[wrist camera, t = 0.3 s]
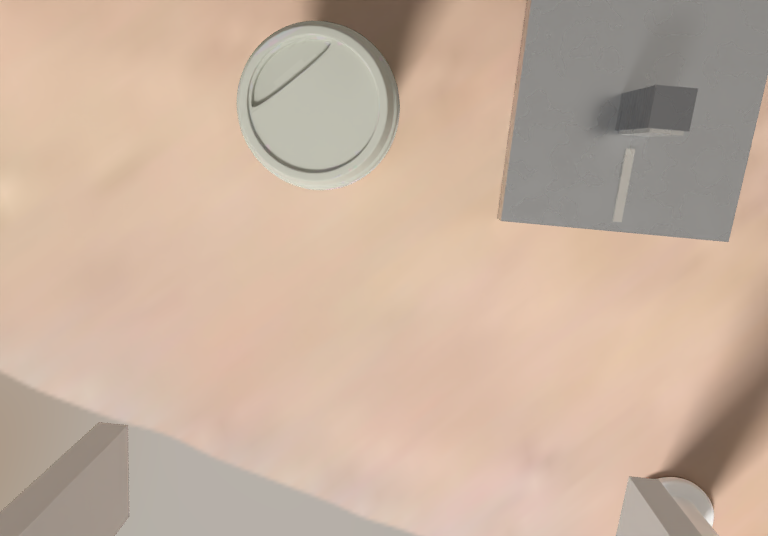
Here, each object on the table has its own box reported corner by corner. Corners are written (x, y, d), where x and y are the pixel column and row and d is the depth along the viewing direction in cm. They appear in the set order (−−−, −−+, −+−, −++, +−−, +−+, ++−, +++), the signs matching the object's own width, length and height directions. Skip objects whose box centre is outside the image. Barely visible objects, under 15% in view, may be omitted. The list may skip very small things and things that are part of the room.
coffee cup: (396, 50, 37) (393, 4, 25) (404, 175, 39) (404, 186, 27) (274, 60, 37) (215, 20, 26) (288, 183, 39) (239, 198, 27)
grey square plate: (529, -20, 36) (557, -57, 29) (770, 1, 35) (850, -31, 29) (497, 218, 39) (515, 231, 33) (716, 238, 39) (777, 255, 33)
